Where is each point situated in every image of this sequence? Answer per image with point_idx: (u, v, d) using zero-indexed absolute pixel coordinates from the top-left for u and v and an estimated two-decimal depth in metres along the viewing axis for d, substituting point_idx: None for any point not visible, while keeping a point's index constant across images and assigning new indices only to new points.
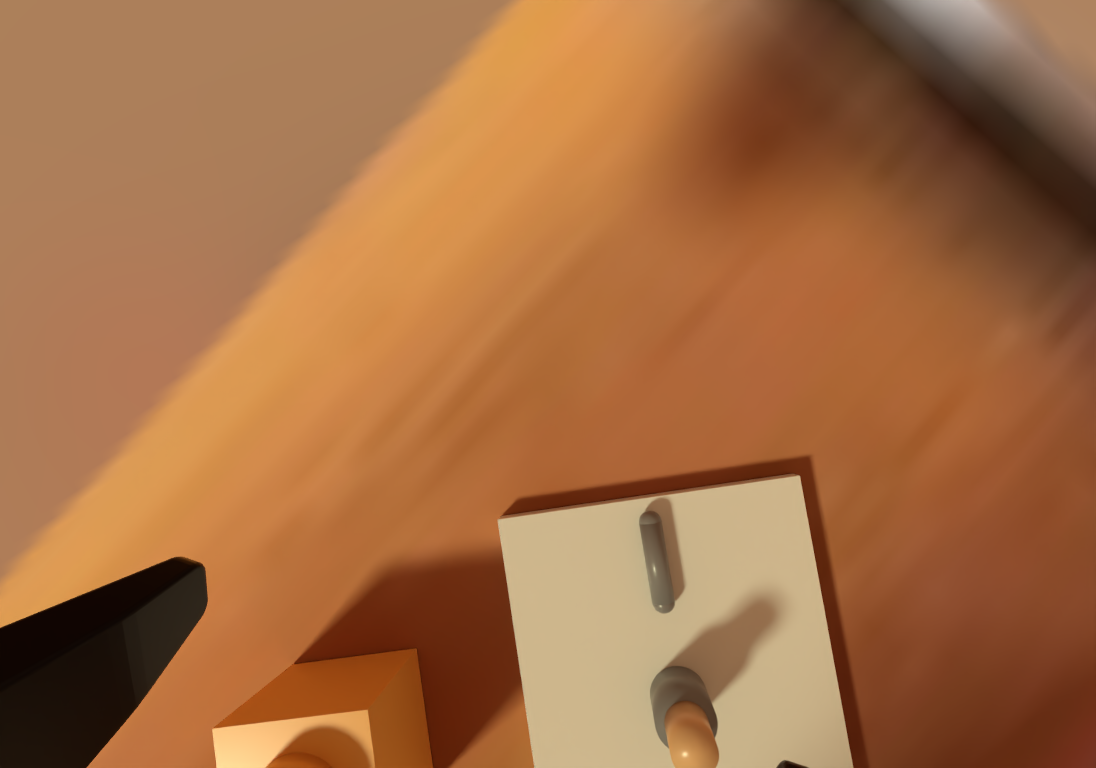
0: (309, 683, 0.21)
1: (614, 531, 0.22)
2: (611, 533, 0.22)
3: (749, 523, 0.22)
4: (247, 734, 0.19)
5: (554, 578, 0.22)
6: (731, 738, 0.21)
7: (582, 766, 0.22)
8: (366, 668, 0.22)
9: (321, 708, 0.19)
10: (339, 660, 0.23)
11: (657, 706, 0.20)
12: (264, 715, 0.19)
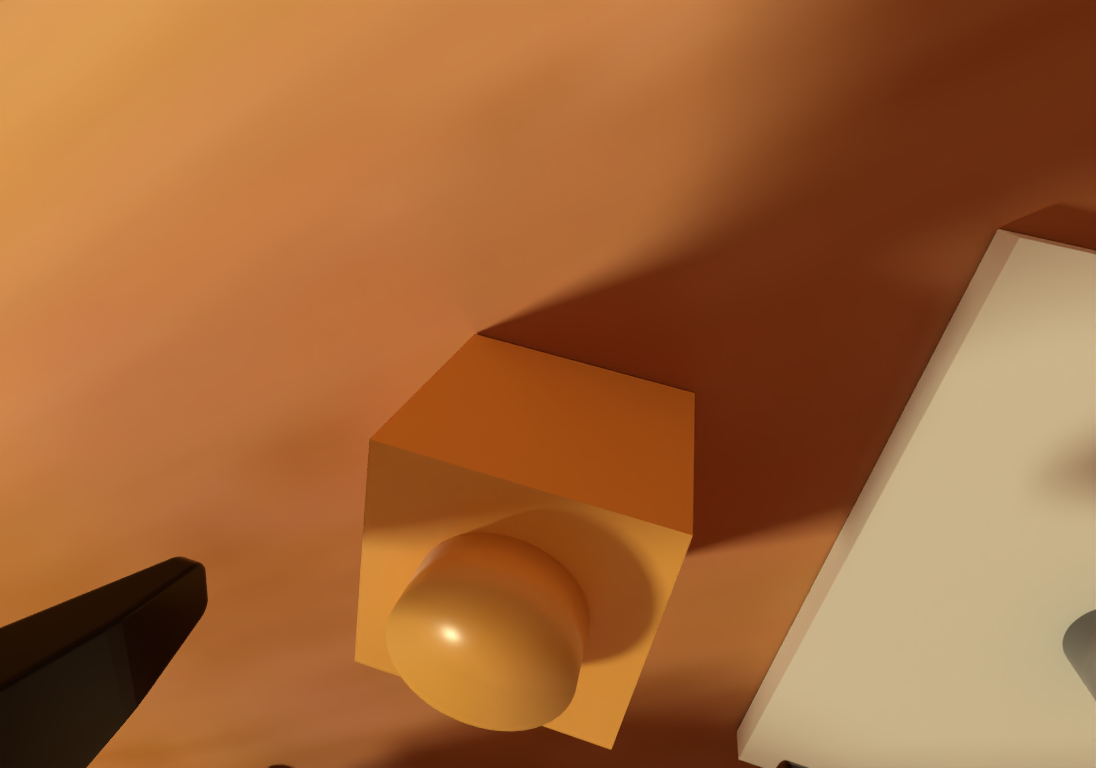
0: (526, 396, 0.11)
1: None
2: None
3: None
4: (435, 475, 0.09)
5: (1052, 395, 0.11)
6: None
7: (885, 653, 0.14)
8: (622, 404, 0.12)
9: (583, 484, 0.09)
10: (559, 361, 0.13)
11: None
12: (465, 446, 0.10)
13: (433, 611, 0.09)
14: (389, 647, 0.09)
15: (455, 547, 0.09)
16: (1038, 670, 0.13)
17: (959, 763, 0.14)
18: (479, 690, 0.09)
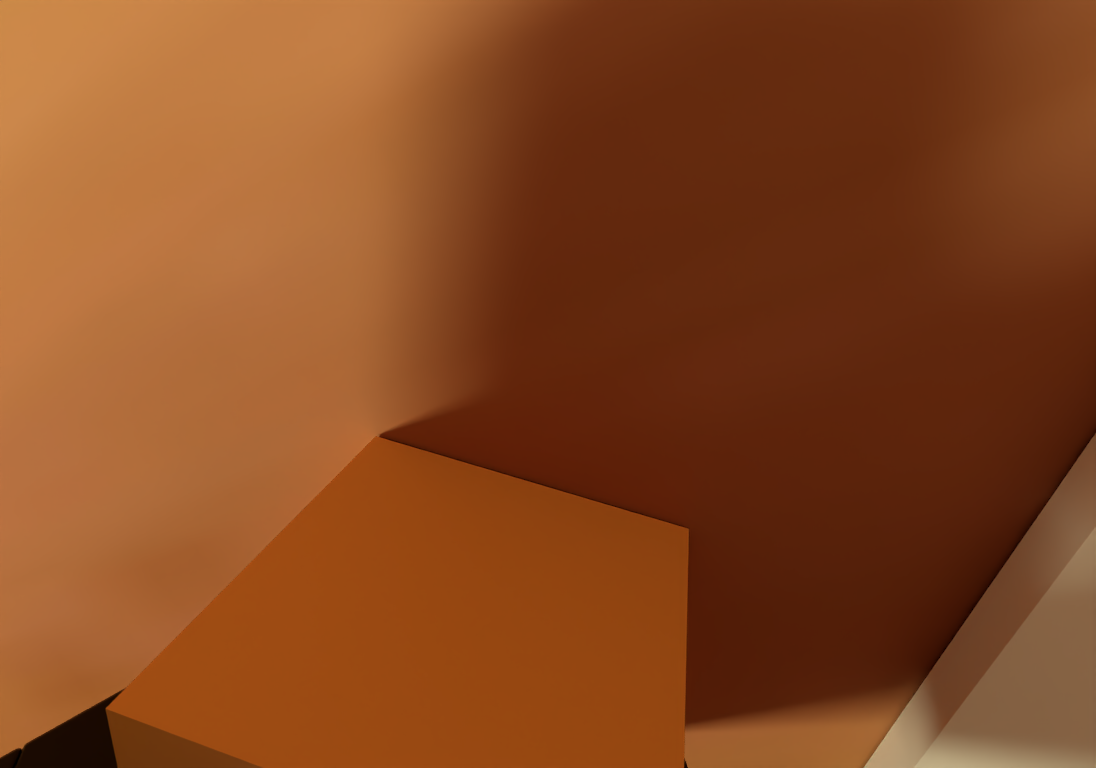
0: (427, 562, 0.07)
1: None
2: None
3: None
4: None
5: None
6: None
7: None
8: (578, 565, 0.08)
9: None
10: (492, 480, 0.09)
11: None
12: (290, 701, 0.06)
13: None
14: None
15: None
16: None
17: None
18: None
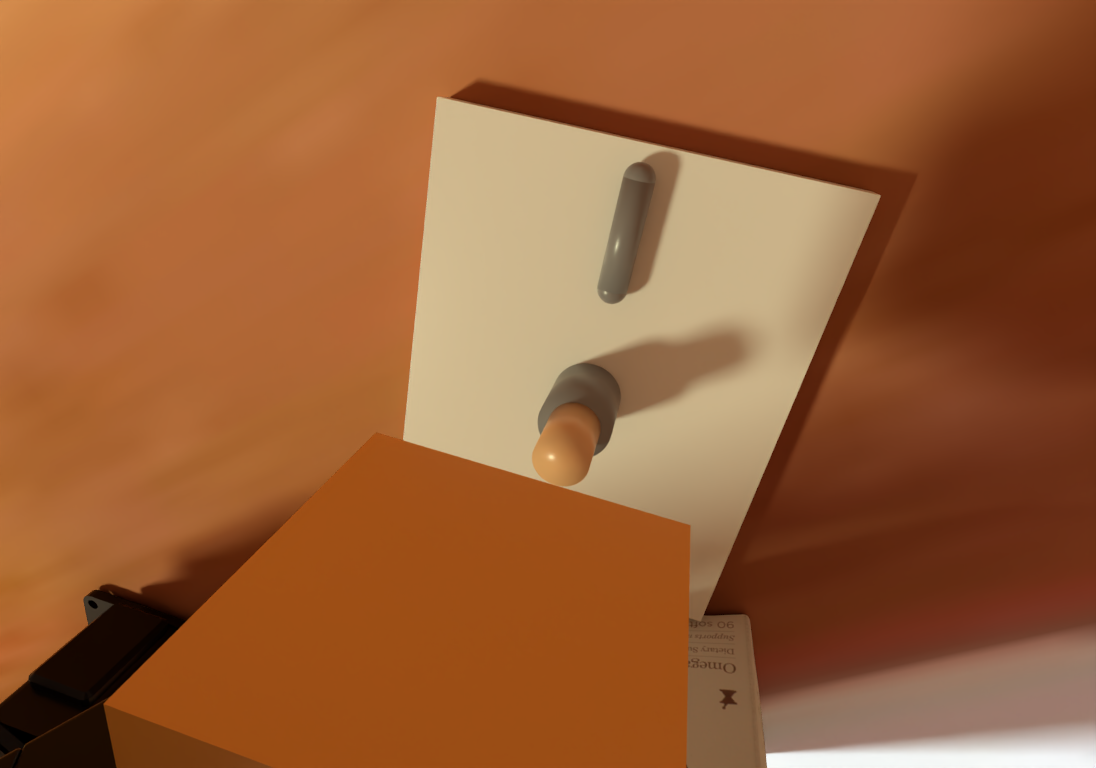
0: (427, 558, 0.07)
1: (587, 174, 0.15)
2: (582, 176, 0.15)
3: (773, 235, 0.15)
4: None
5: (489, 207, 0.16)
6: (625, 457, 0.18)
7: (457, 420, 0.19)
8: (579, 561, 0.08)
9: None
10: (493, 477, 0.09)
11: (549, 397, 0.16)
12: (289, 697, 0.06)
13: None
14: None
15: None
16: None
17: None
18: None
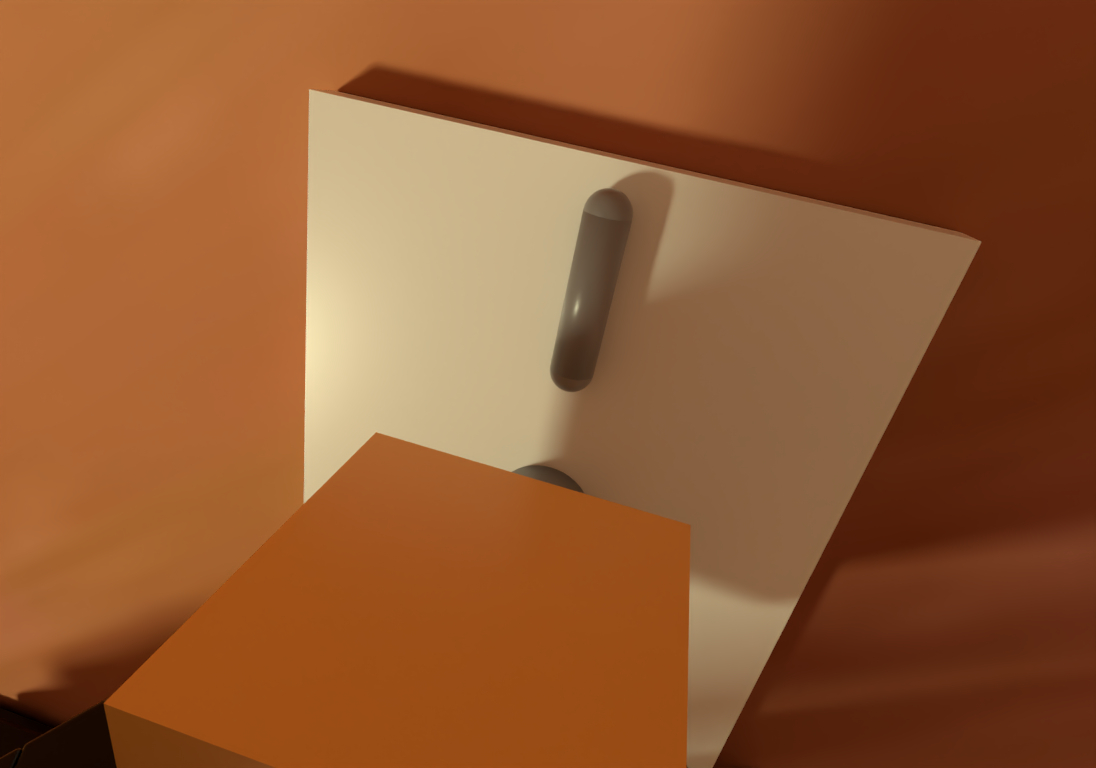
0: (427, 557, 0.07)
1: (532, 206, 0.10)
2: (525, 208, 0.10)
3: (809, 297, 0.10)
4: (222, 767, 0.05)
5: (394, 251, 0.11)
6: None
7: None
8: (579, 561, 0.08)
9: None
10: (493, 476, 0.09)
11: None
12: (290, 697, 0.06)
13: None
14: None
15: None
16: None
17: None
18: None
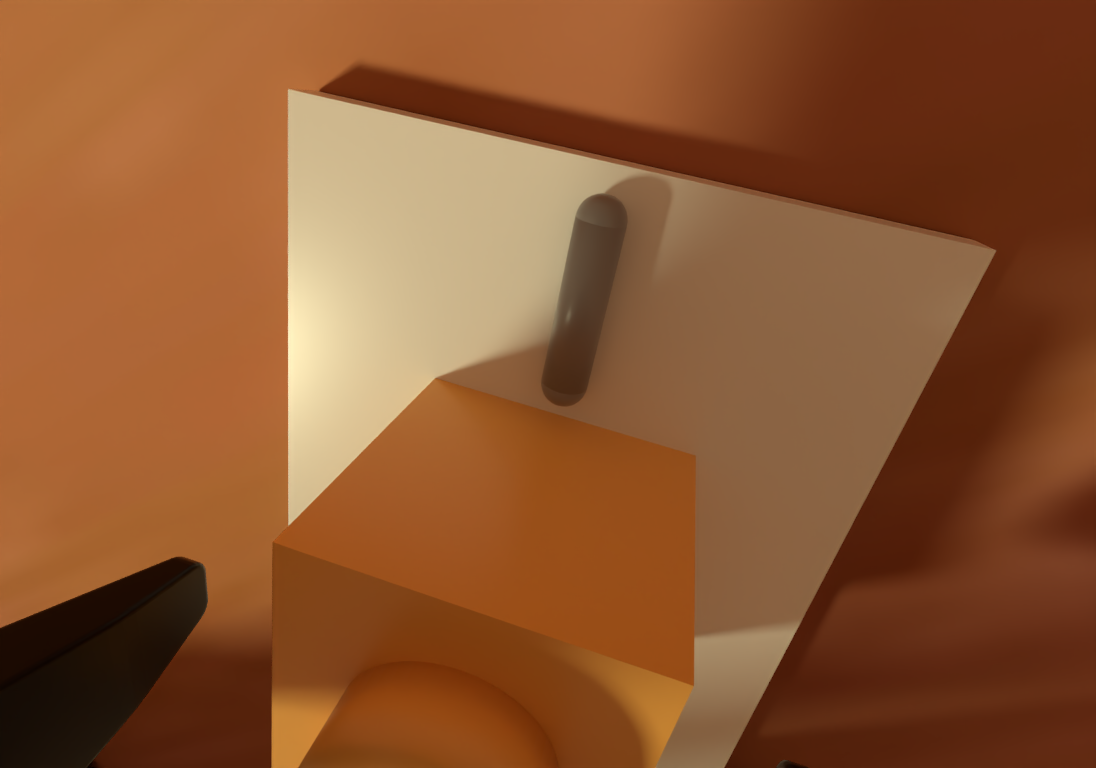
0: (489, 466, 0.09)
1: (521, 211, 0.10)
2: (515, 214, 0.10)
3: (814, 308, 0.09)
4: (358, 590, 0.07)
5: (378, 258, 0.11)
6: None
7: None
8: (607, 475, 0.10)
9: (551, 605, 0.07)
10: (534, 414, 0.11)
11: None
12: (401, 547, 0.07)
13: None
14: None
15: (383, 684, 0.07)
16: None
17: None
18: None
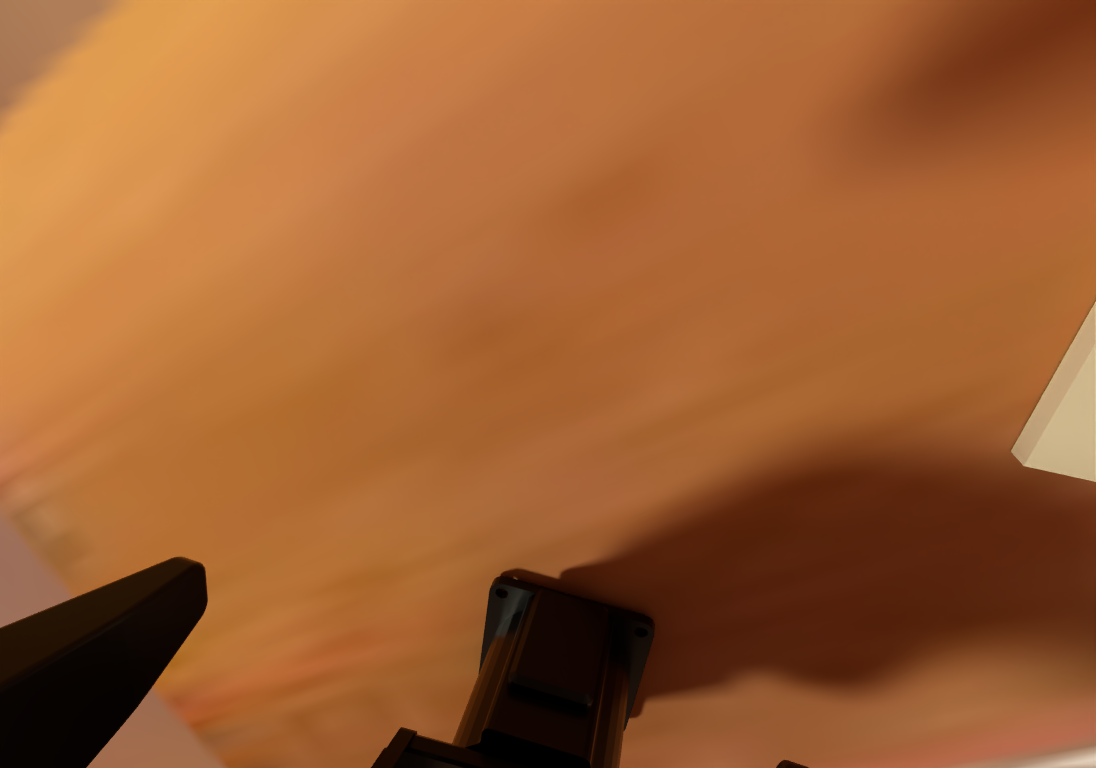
0: None
1: None
2: None
3: None
4: None
5: None
6: None
7: None
8: None
9: None
10: None
11: None
12: None
13: None
14: None
15: None
16: None
17: None
18: None
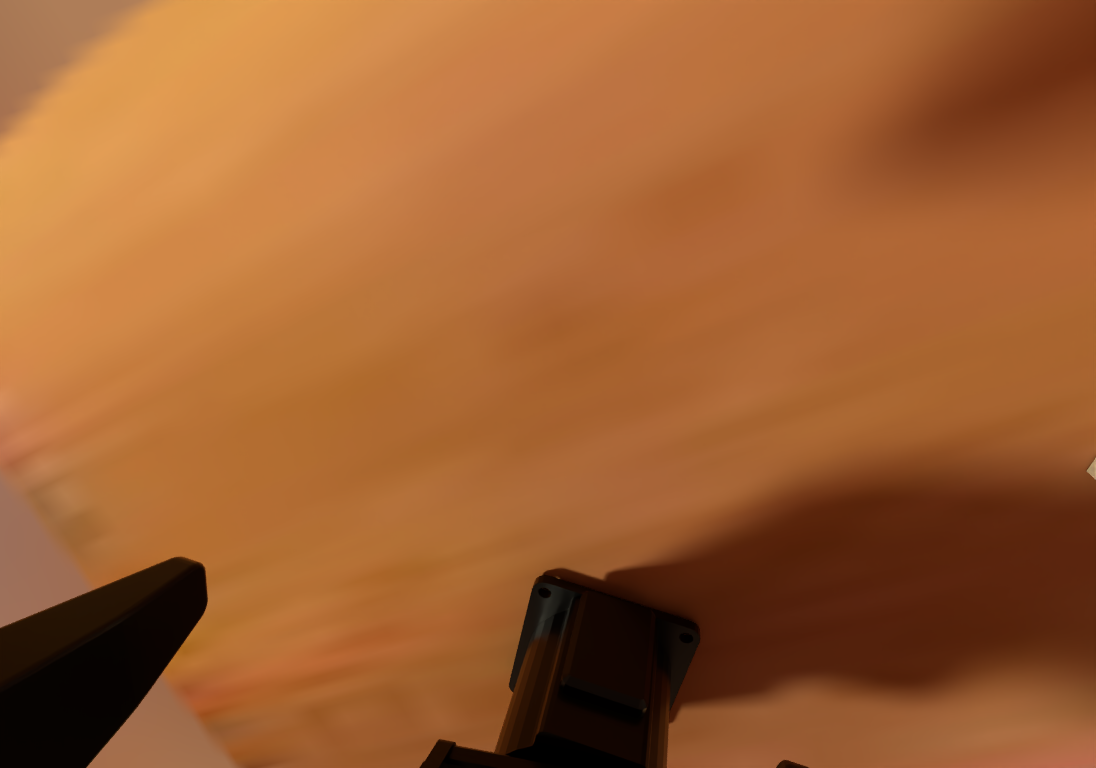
0: None
1: None
2: None
3: None
4: None
5: None
6: None
7: None
8: None
9: None
10: None
11: None
12: None
13: None
14: None
15: None
16: None
17: None
18: None
